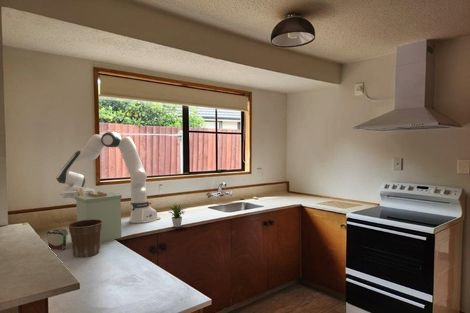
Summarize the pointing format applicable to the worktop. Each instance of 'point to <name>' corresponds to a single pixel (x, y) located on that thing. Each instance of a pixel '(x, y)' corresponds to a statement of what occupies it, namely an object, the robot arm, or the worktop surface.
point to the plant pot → (85, 237)
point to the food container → (57, 239)
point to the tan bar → (81, 192)
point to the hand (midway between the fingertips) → (82, 194)
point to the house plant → (177, 215)
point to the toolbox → (102, 212)
